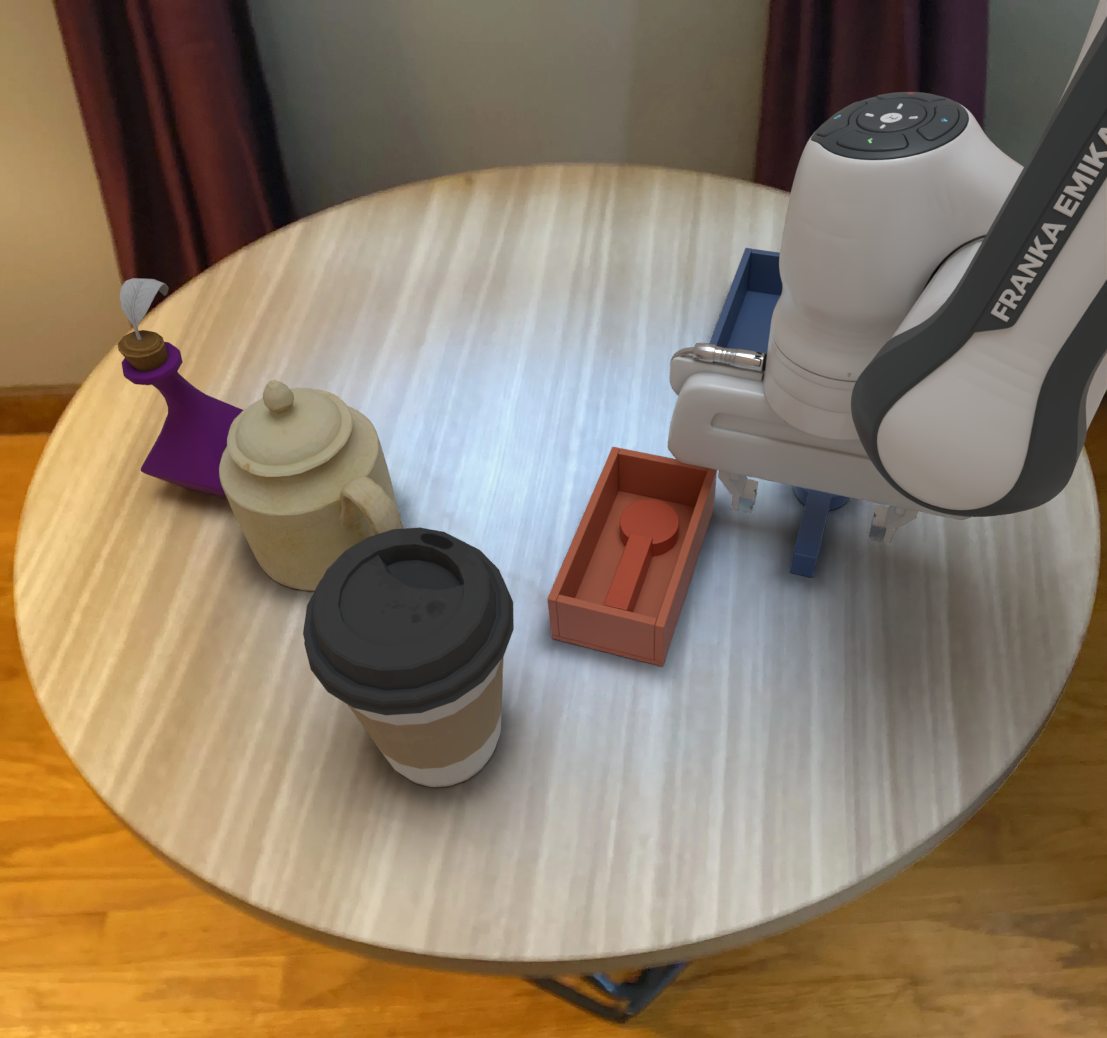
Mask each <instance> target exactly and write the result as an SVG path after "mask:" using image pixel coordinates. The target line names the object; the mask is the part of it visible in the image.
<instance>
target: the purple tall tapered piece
mask: <svg viewBox="0 0 1107 1038" xmlns="http://www.w3.org/2000/svg"><path fill="white" fill-rule="evenodd" d="M169 288H170V287H168V285H167V283H165V282H162V281H160V280H157V279H154V278H137V277H135V278H134V277H132V278H130V279H127V280H125V281H124V282H123V284H122V285H121V287H120V291H119V301H120V307H121V311H122V312H123V314H124V315H125V316H126V318H127V320H128V321H129V323H130V324H131V325H132V328H133V330H134V331H132V332H129V333H127V334H125V335H123V336H122V337H121V339H119V341H118V342H117V348H118V352H119V353H120V354H121V355H122V356H123V357H124V358H123V360H122V361H121V369H122V375H123V377H124V378H125V379H126V380H128V381H129V382H131V383H132V384H134V385H137V386H153V387H154V389H156V390H157V391H158V392H159V393H160V394H161V395H162V397H163V398H164V400H165V403H166V406H167V415H166V417H165V419H164V422H163V425H162V427H161V430H160V432H159V435H158V436H157V438H156V440H155V442H154V444H153V445H152V447H151V449H150V450H149V452H148V454H147V456H146V458H145V460H144V461H143V463H142V465H141V467H140V471H141V472H142V473H143V474H144V475H147V476H150V477H153V478H155V479H159V480H161V481H164V482H166V483H169V484H171V485H175V486H177V487H179V488H183V489H186V490H190V491H194V492H197V493H202V494H206V495H211V496H215V497H219V498H224V499H227V497H226V494H225V492H224V490H223V487H222V485H221V481H220V477H219V466H220V462H221V458H222V455H223V452H224V451H225V449H226V447H227V438H228V434H229V430H230V426H231V424H232V423H233V421H234V419H235V418H236V417H237V416H238V415H239V414H240V413H241V412H242V411H243V410H244V409H243V408H240V407H238V406H235V405H232V404H230V403H228V402H225V401H223V400H221V399H218V398H217V397H214V396H211V395H209V394H206V393H204V392H203V391H202V390H199V389H198V388H197V387H196V386H194V385H193V384H192V383H191V382H190V381H188V380H187V379H186V378H184V376H183V375H181V374H180V373H179V369H180V368H181V366H182V364H183V358H182V357H183V356H182V353H181V350H180V349H179V348H178V347H177V346H175V345H173V344H172V343H171V342H169V341H165V340H164V337H163V336H162V335H160V334H159V333H158V332H156V331H152V330H146V329H140V330H139V325H140V323H141V322H142V321H143V319H144V318H145V317H146V315H147V313H148V311H149V309H150V307H151V305H152V303H153V301H154V299H155V297H156V296H157V294H158V292H160V294H162V295H163V296H164V297H166V296H167V295H168V292H169Z"/></svg>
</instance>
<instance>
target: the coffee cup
mask: <svg viewBox="0 0 1107 1038" xmlns="http://www.w3.org/2000/svg"><path fill="white" fill-rule="evenodd" d="M514 617H515V616H514V600H513V598H512V596H511V594H510V591H509V589H508V586H507V584H506V581H505V578H504V577H503V576H502V573H501V570H500V569H499V568H498V567H497V566H496V564H495V563H494V562H493V561H491V559H490V558H489V557H488V556H487V555H485V553H484V552H483V551H482V550H481V549H479V548H477V547H475V546H473V545H471V544H470V543H467V542H465V541H464V540H462V539H460V538H458V537H455V536H453V535H451V534H449V533H447V532H446V531H443V530H437V529H431V528H430V529H429V528H426V527H419V526H418V527H406V528H404V527H403V529H392V530H389V531H386V532H383V533H380V534H376V535H373V536H370V537H367V538H366V539H364V540H362V541H361V542H359V543H357V544H356V545H354V546H352V547H351V548H349V549H347V550H345V551H344V552H343V553H342V554H341V555H340V556H339V557H338V558H337V559H336V560H335V561H334V562H333V563H332V564H331V566H330V567H329V568H328V569H327V570H326V572H325V574H324V576H323V578H322V579H321V580H320V582H319V584H318V586H317V587H316V589H315V591H313V593H312V595H311V597H310V599H309V601H308V603H307V605H306V610H305V617H304V624H303V629H302V636H303V639H304V642H303V644H304V648H305V653H306V656H307V659H308V660H307V661H308V665H309V668H310V671H311V672H312V673H313V675H314V676H315V678H316V679H317V680H318V682H320V684H321V685H322V687H323V688H324V689H325V691H326V692H327V693H328V694H330V695H332V697H335V698H337V699H338V700H339V701H341V702H342V703H345V704H346V705H347V706H348V707H349V709H350V710H351V711H352V713H353V714H354V717H356V719H357V720H358V721H359V723H360V724H361V726H362V727H363V728H364V730H365V731H366V733H367V734H368V735H369V737H370V739H371V740H372V741H373V743H375V745H376V747H377V748H378V749H379V750H380V752H381V753H382V755H383V756H384V758H385V759H386V760H387V762H388V763H389V765H390V766H391V767H392V769H394V771H395V772H397V773H399V774H400V775H402V776H403V777H405V778H406V779H408V780H410V781H411V782H413V783H415V784H417V785H422V786H425V787H429V788H441V787H442V788H443V787H451V786H454V785H457V784H459V783H463V782H465V781H468V780H469V779H470V778H472V777H473V776H475V775H477V773H479V772H480V771H482V770H483V769H484V767H485V766H486V764H487V763H488V762H489V760H490V759H491V758H492V757H493V754H494V751H495V750H496V747H497V744H498V742H499V738H500V736H501V732H502V707H503V681H504V679H503V678H504V657H505V655H506V651H507V649H508V646H509V643H510V640H511V638H512V636H513V632H514V627H515V625H514V624H515V623H514Z"/></svg>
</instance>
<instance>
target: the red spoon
mask: <svg viewBox="0 0 1107 1038" xmlns="http://www.w3.org/2000/svg"><path fill="white" fill-rule="evenodd" d="M678 536H679V517H678V515H677V513H676V511H675V510H674V509H673V508H672V507H671V506H670V505H668V504H667V503H665V502H662V501H659V500H654V499H645V500H640V501H636V502H634V503H632V504H630V505H629V506H628V507H626V508H625V510H624V511H623V512H622V514H621V517H620V538H621V540H622V542H623V544H624V545H625V549H624V552H623V554H622V557H621V560H620V562H619V565H618V568H617V570H616V573H615V576H614V578H613V581H612V584H611V586H610V589H609V592H608V594H607V597H606V600H605V602H604V605H605V606H609V607H613V608H617V609H621V610H625V611H630V612H633V611H634V608H635V605H636V603H637V600H638V597H639V594H640V591H641V588H642V586H643V583H644V580H645V577H646V574H647V571H648V568H649V566H650V563H651V560H652V556H656V555H660V554H663V553H665V552H667V551H669V550H670V549H671V548H672V547H673V546H674V545H675V544H676V542H677V540H678Z"/></svg>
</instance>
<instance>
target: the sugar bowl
mask: <svg viewBox="0 0 1107 1038" xmlns="http://www.w3.org/2000/svg"><path fill="white" fill-rule="evenodd" d="M263 389H264V390H263V391H262V398H260V399H258V400H257V401H255V402H254V403H252V404H250V405H249V406H247V407H245V408H244V409H243V411H242V412H241V413H240V414H239V415H238V416H237V417H236V418H235V419H234V421H233V423H232V424H231V426H230V430H229V434H228V438H227V447H226V449H225V451H224V452H223V455H222V458H221V462H220V466H219V477H220V481H221V485H222V487H223V490H224V492H225V494H226V497H227V498H226V499H227V501H228V503H229V506H230V509H231V511H232V513H233V515H234V517H235V519H236V521H237V523H238V526H239V528H240V529H241V531H242V533H243V535H244V536H243V537H245V540H246V541H247V544H248V546H249V547H250V549H251V552H252V554H253V555H254V557H255V560H256V561H257V563H258V565H259V566H260V568H261V569H262V570H263V571H264V573H265V574H266V575H267V576H268V577H269V578H271V579H272V581H275V582H277V583H278V584H280V585H283V586H285V587H287V588H291V589H295V590H300V591H311V592H314V591H315V589H316V587H317V586H318V584H319V582H320V580H321V579H322V578H323V576H324V574H325V572H326V570H327V569H328V568H329V567H330V566H331V564H332V563H333V562H334V561H335V560H336V559H337V558H338V557H339V556H340V555H341V554H342V553H343V552H344V551H345V550H347V549H349V548H351V547H352V546H354V545H356V544H357V543H359V542H361V541H362V540H364V539H366V538H367V537H370V536H373V535H376V534H380V533H383V532H386V531H389V530H392V529H403V528H404V525H403V522H402V520H401V516H400V511H399V508H398V503H397V498H396V495H395V491H394V486H393V483H392V478H391V475H390V472H389V471H390V470H389V467H388V464H387V461H386V457H385V455H384V451H383V448H382V444H381V441H380V438H379V435H378V431H377V429H376V428H375V426H374V424H373V423H372V422H371V420H370V419H369V417H367V416H366V415H365V414H364V413H362V412H361V411H359V410H357V409H356V408H354V407H352V406H349V405H347V403H346V402H345V401H344V400H343V399H341V397H339V396H338V395H336V394H335V393H332V392H330V391H325V390H322V389H319V388H310V387H294V388H290V387H289V386H288V385H287V384H286V383H284V382H282V381H279V380H277V379H272V380H269V381H268V382H267V384H266V385H265V386H264V388H263Z"/></svg>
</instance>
